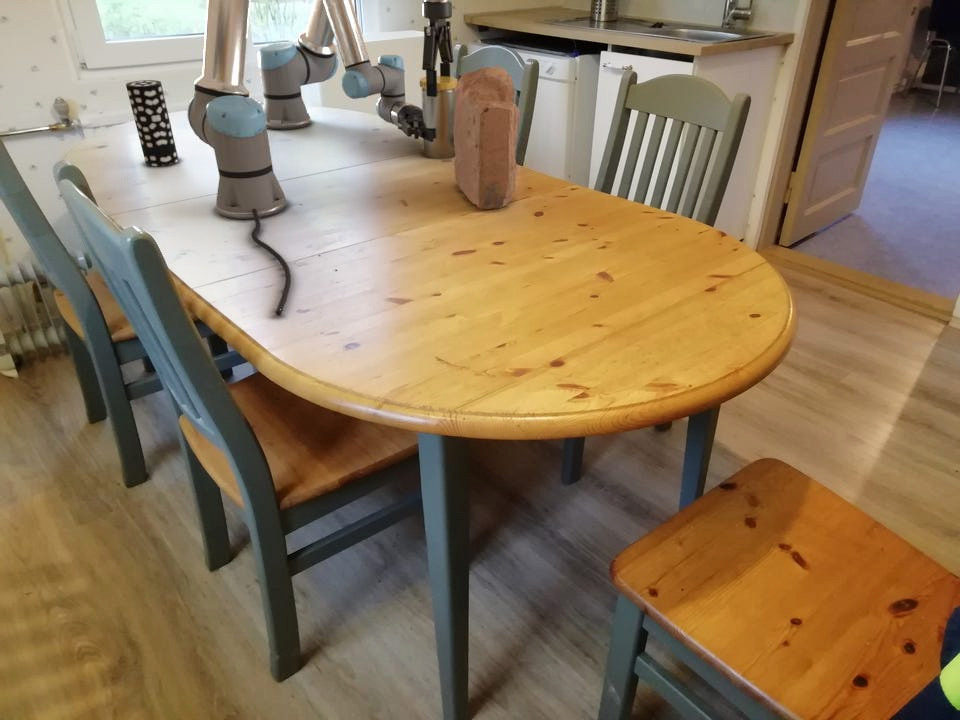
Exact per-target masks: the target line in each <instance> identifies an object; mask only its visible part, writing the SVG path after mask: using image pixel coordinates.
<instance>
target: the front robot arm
mask: <svg viewBox="0 0 960 720" xmlns="http://www.w3.org/2000/svg"><path fill="white" fill-rule="evenodd" d="M250 4H251V0H207V1H206V13H205V14H206V15H205V31H204V32H205V33H204V46H203V47H204V49H203V66H202V75H201V76H200V77H199V78H197V79H196V80H195V81H194V89H193V90H194V91H193V97H191V99H190V101H189V103H188V105H187V120H188V123H189V126H190V128H191V130H192V131H193V133H194V134H195V135H196V137H198V138H199V140H200V141H202V142H203V143H204V144H206V145H208V146H210V147H211V148H212V149H213V151H214V156H215V161H216V167H217V169H218V170H217V172H218V185H217V193H216V201H215V203H216V204H215V206H216V210H217V213H218V214H219V215H221V216H223V217H225V218H229V219H236V220H253V219H254V222H255V227H254V229H253V231H252V233H251V239H252V240H253V242H254V243H255V244H257V245H258V246H260V247H261V248H263V249H264V250H266V251H267V252H268V253H270V254H271V255H272V256H273V257H275V259H276V260H277V261H278V262H279V263H280V265H281V267H282V268H283V271H284V275H285V276H284V277H285V281H284V282H285V283H284V287H283V290H282V293H281V297H280V300H279V302H278V305H277V307H276V310H277V311H276V310H275V315H276V316H281V315H282V312H283V310H284V307H285V304H286V302H287V300H288V297H289V296H288V295H289V292H290V288H291V283H292V276H291V271H290V267H289V265H288V263H287V262H286V261H285V259H284V258H283V256H281V254H279V253H278V252H277V251H276V250H274V249H273V248H272V247H271V246H270V245H268V244H267V243H266V242H264V241H262V240H260V239H259V238H258V236H257V235H258V233H259V231H260V229H261V220H260V218H261V219H262V218H265V217H266V218H267V217H270V216H274V215H276V214H278V213H280V212H282V211H283V210H285V209H286V207H287V199H286V194H285V193H284V191H283V189H282V187H281V184H280V182H279V180H278V179H277V177H276V175H275V172H274V167H273V160H272V154H271V147H270V140H269V133H268V128H267V126H266V124H267V123H266V122H267V121H266V116H265V114H264V110H263V105H262V104H261V103H260V102H259V101H258V100H257V99H255V98H252V97H250V91H249V90H248V89H247V87H246V86H245V83H244V75H245V64H246V55H247V42H248V41H247V40H248V30H249V17H250V6H251V5H250ZM421 4H422V5H421V6H422V17H423V18H424V19H428V26H423V35H424V36H423V51H422V52H423V53H422V66H421V69H422V71H425V77H426V87H427V96H430V97H437V76H438V70H437V69H436V66H437V59H438V52H439V57H440V63H439V76H448V77H451V64H454V61H455V60H454V52H453V42H452V32H451V24H452V23H451V21H449V20H447V19H451V18H452V17H453V3H452V2H451V1H450V0H424V1H423V2H421ZM280 309H281V310H280Z"/></svg>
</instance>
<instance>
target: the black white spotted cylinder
mask: <svg viewBox="0 0 960 720" xmlns="http://www.w3.org/2000/svg"><path fill="white" fill-rule="evenodd" d="M125 87H126V91H127V95H128V99H129V103H130V107H131V110H132V115H133V118H134V122H135V123H134V124H135V127H136V130H137V134H138V139H139V143H140V146H141V150H142V155H143V158H144V163H145V164H146V165H147V166H151V167H164V166H170V165H174V164H176V163H178V162H179V155H178V150H177V146H176V142H175V137H174V133H173V128H172V125H171V121H170V116H169V111H168V107H167V103H166V98H165V93H164V89H163V84H162V81H161V80H155V79H154V80H153V79H151V80H150V79H145V80H144V79H141V80H134V81H130V82H129V81H128V82H127V83H126V84H125Z"/></svg>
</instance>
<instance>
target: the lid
mask: <svg viewBox="0 0 960 720" xmlns="http://www.w3.org/2000/svg"><path fill="white" fill-rule="evenodd" d="M458 82H459V80H458V78H456V77H454V76H450V77H448V76H440V75H437V90H446V89H453V88H455V87H456V85H457V83H458ZM419 87H420V88H421V89H422V88H425V89H427V87H426V76H423V77H421V78H419Z"/></svg>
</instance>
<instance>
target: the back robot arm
mask: <svg viewBox="0 0 960 720" xmlns="http://www.w3.org/2000/svg"><path fill="white" fill-rule="evenodd" d="M334 39H335V42H336V45H337V48H338V51H339V54H340V57H341V61H342V63H343V67H344V70H345V72H344V73H343V75H342V77H341V88H342V91H343V92H344V94H345V95H346V96H347V97H348V98H350V99H353V100H358V99H365V98H367V97H370V96H374V95H378V94H379V95H380V97H379V98H378V99H377V102H376V105H375V111H376V114H377V115H378V117H379V118H380V119H382V120H383V121H385V122H386V123H389V124H391V125H394V126H396V127H397V129H398V130H400V131H402V132H403V133H404V134H405V135H406V136H407V137H408V138H410V137H413V136H414V139H415V140H420V138H421V139H422V140H423V139H426V140H428V141H430V142H433V131H431V130H428V129H426V128H424V127H423V116H422V107H419V106H417V105H414V104H412V103H410V102H408V101H406V84H405V83H406V82H405V81H406V79H405V78H406V77H405V71H406V70H405V64H404V59H403V57H402V56H401V55H397V54H383V55H380V56H379V57H378V59H377V65H373V66H372V63H371V60H370V57H369V54H368V51H367V47H366V44H365V40H364V37H363V34H362V31H361V28H360V25H359V21H358V18H357V15H356V11H355V8H354V4H353V1H352V0H313V3H312V7H311V10H310V14H309V18H308V21H307V25H306V30H303V31H301V32H300V33H299V35H298V39H297V43H296V45H295V43H293V42H288V41H281V42H274V43H269V44H265V45H263V46H262V47H260V48H259V49H258V51H257V66H258V69H259V75H260V79H261V89H262V94H263V105H262V107H263V110H264V114H265V116H266V121H267V122H266V123H267V124H266V126H267V129H271V130H293V129H294V130H295V129H300V128H305V127H307V126H309V125H310V124H311V116H310V113H309V112H308V110H307V107H306V105H305V102H304V99H303V96H302V89H301V87H303V86H307V85H312V84H316V83H323V82H325V81H328V80H330V79H332V78H333V77H334V76H335V74H337V71H338V68H339V59H338V52H337V50H336V49H337V48H336V45H335V43H334Z"/></svg>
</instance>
